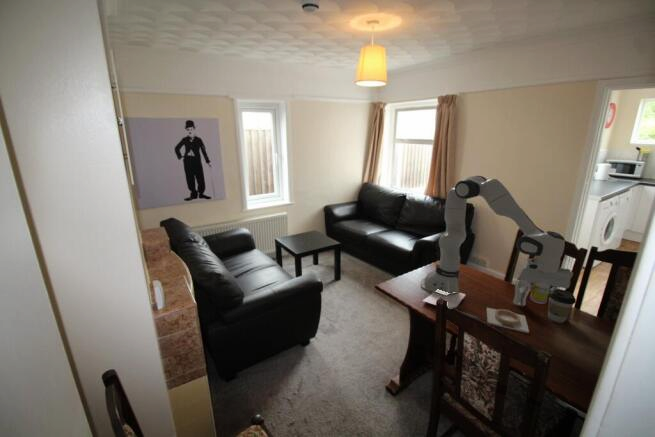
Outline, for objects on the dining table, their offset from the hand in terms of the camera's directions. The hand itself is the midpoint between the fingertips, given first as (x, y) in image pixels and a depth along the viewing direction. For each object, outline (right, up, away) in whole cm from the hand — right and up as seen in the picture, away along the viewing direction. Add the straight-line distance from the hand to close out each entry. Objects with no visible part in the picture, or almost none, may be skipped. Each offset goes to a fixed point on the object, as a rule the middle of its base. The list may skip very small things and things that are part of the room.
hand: (540, 290), depth 145 cm
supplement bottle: (0, -5, +2) cm, 6 cm away
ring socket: (-10, -18, +10) cm, 23 cm away
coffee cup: (+17, -18, +12) cm, 27 cm away
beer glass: (+6, -13, +25) cm, 29 cm away
